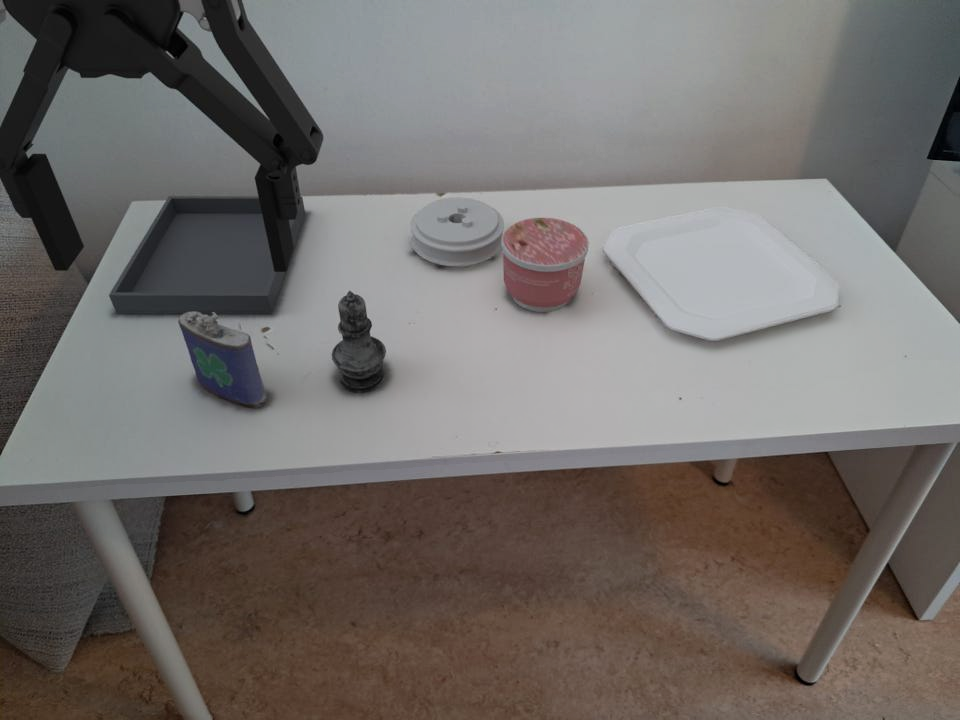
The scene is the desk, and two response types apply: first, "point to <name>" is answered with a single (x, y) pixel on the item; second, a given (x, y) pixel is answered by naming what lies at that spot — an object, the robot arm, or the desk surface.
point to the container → (543, 262)
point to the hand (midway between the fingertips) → (177, 259)
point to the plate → (720, 272)
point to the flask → (223, 360)
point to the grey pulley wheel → (457, 232)
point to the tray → (203, 260)
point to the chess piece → (358, 348)
